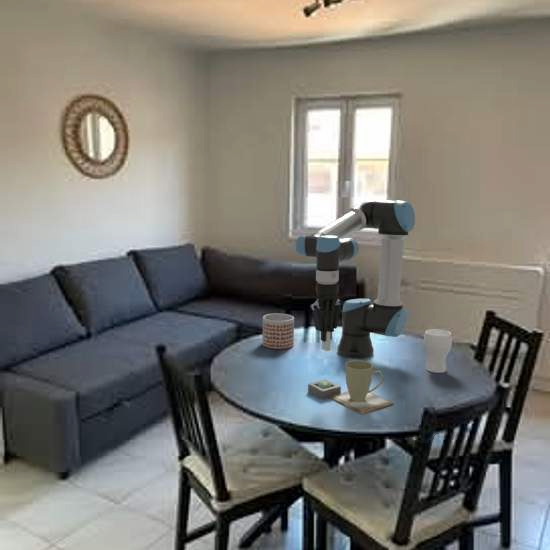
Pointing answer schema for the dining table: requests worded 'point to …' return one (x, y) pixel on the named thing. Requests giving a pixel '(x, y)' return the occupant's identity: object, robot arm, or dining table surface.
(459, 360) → the dining table surface
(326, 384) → the button
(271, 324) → the planter
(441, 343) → the cup
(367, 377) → the mug
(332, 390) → the button housing
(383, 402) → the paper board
